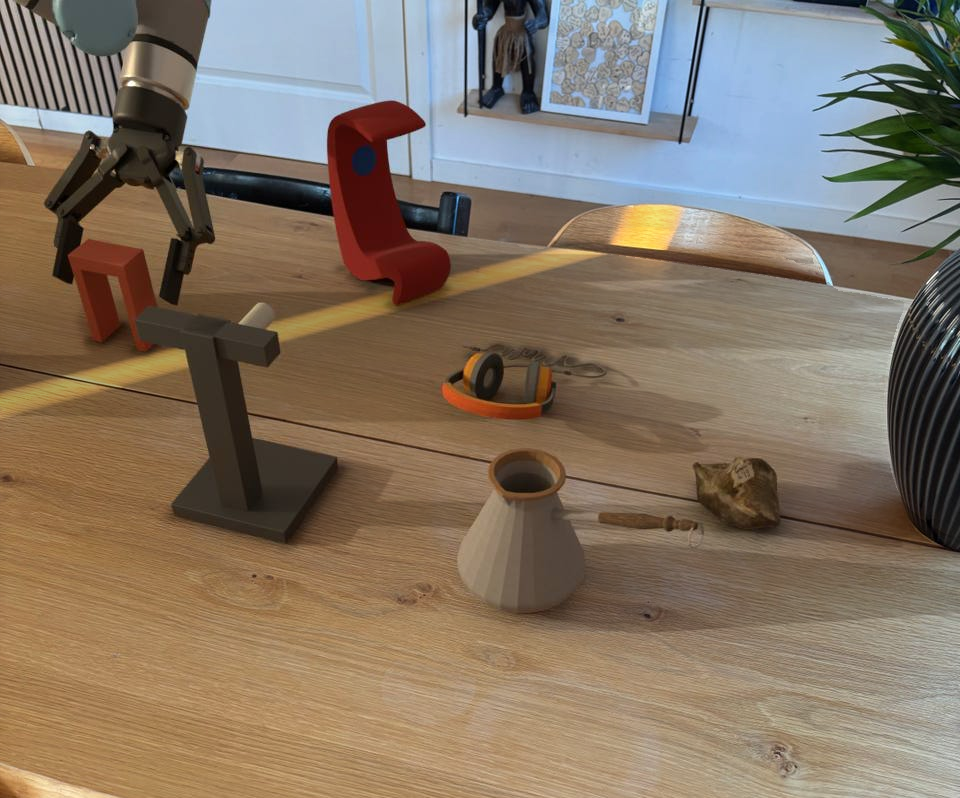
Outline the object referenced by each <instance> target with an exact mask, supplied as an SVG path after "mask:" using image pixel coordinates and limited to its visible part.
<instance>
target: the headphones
mask: <svg viewBox="0 0 960 798" xmlns="http://www.w3.org/2000/svg"><path fill="white" fill-rule="evenodd" d="M494 347H501V348H504V349H503V350H502V351H500V353H499V354H498V353H495V352H493V351H490V350H491V349H492V348H494ZM462 348H463V349H468V350H470V351H472V352H473V351H474V352H476V353H475V354H473V355H472V356H471V357H470V358H469V359H468V361H467V362H466V364H465V366H464V367H463V368H461V369H458V370H456V371H453V372H452V373H451V374H449V375H448V376H447V377H445V379H444V382H443V384H442V387H441V390H442V396H443V398H444V399H445V401H446V402H448V403H449V404H450V405H452V406H453V407H456V408H458V409H460V410H462V411H465V412H468V413H471V414H473V415H477V416H478V415H479V416H483V417H488V418H493V419H498V420H499V419H500V420H507V421H508V420H512V421H521V420H522V421H523V420H533V419H538V418H540V417H541V415H543V414H545V413H547V412H548V411H550V409H551V408H552V406H553V404H554V400H555V395H556V388H557V382H556V381H553V373H558V374H559V373H560V374H564V375H565V376H574V377H575V376H576V377H580V378H588V379H598V378H602V377H604V376H606V375H607V369H606V368H605V367H604V366H602V365H600V364H598V363H592V362H589V363H582V364H575V365H574V364H573V365H572V364H568V363H567V362H568V360H569V358H570V357H569V356H568V355H562V356H560V357H559V358H558V359H556V360H555V361H554V362H552V363H547V362H548V361H549V360H550V357H549V356H547V355H543V356H540V355H541V353H542V352H541V350H539V349H533V350H532V351H531V352H529V350H530V349H529V348H528V347H525V348H524V347H523V348H522V349H521V350H520V351H519V353H517V354H516V355H515V356H514V357H513V355H514V354H515V353H516V352H517V349H516V348H511V349H509V351H507V350H508V346H507V345H505V344H499V343H495V344H492V345H490V346H489V347H488V348H487V347H486V348H485V349H484V348H483V349H482V348H480V347H476V346H468V345H463V346H462ZM506 351H507V352H506ZM477 352H478V353H477ZM482 352H483V353H482ZM528 352H529V353H528ZM534 353H537V354H536V355H535V356H533V357H532V358H531V362H529V364H510V365H504V360H503V358H502V356H503V357H505V356H507V357H506V359H507V360H509V361H515V360H517V358H519V356H521V355H522V356H523V357H529V356H531V355H532V354H534ZM539 356H540V357H539ZM564 358H565V360H564V362H563V364H564V366H566V367H569V368H580V367H585V366H593V367H597V368H599V369H602V370H603V373H602V374H598V375H587V374H579V373H574V372H572V371H570V370H561V369H557V368H551V367H552V366H553V367H554V366H555V365H556V364H557V363H559V362H560V361H561V360H563V359H564ZM542 359H544V360H543V362H542V366H541V364H540V362H539V361H541V360H542ZM507 368H508V369H509V368H526V374H525V375H526V376H525V382H524V389H523V397H522V403H520V404H510V403H501V402H494V401H490V400H491V399H492V398H494V396H496V395H497V393H498V391H499V390H500V388H501V386H502V383H503V381H504V374H505V369H507ZM460 381H462V385H463V388H464V390H465V391H466V392H467V393H469V394H470V395H471V396H470V395H468V394H466V393H463V392H461V391H460V390H458V389H456V388H455V387H454V386H453V385H454V384H456V383H458V382H460Z"/></svg>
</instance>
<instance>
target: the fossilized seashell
mask: <svg viewBox="0 0 960 798" xmlns="http://www.w3.org/2000/svg"><path fill="white" fill-rule="evenodd" d="M692 470H693V471H694V477H695V485H696V487H695V488H696V498H697V501H698V502H699V504H700V505H701V506H702V507H704V509H706V510H709V511H711V514H713V516H714V517H715V518H716V519H717V520H718V521H720V522H722V523H723V524H725V525H727V526H728V525H729V526H731V527H734V528H739V529H746V530H755V529H761V528H768V527H769V528H770V527H775V528H776V527H778V526H780V524H781V522H782V521H781V511H780V505H779V496H778V475H777V472H776V471H775V469H774V468H772V466H771V465H770V464H769V462H767V461H766V460H764V459H763V458H760V457H747V458H744V457H741V456H736V457H734V459H733V460H732V462H728V463H727V462H717V463H700V462H698V461H695V462H693V464H692Z"/></svg>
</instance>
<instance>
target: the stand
mask: <svg viewBox="0 0 960 798" xmlns="http://www.w3.org/2000/svg"><path fill="white" fill-rule="evenodd" d="M275 315H276V314H275V311H274V308H272V307H271V306H270V305H269V304H268V303H266V302H258V303H256V304H255V305H254V306H253V307H252V308H251V309H250V311H249V312H247V314H246V315H245V316H243V318H242V319H241V320H240V321H239V322H238V323H236V322H232V321H231V320H230V319H226V318H221V317H217V316H212V315H208V314H202V313H197V314H191V313H187V312H182V311H177V310H172V309H168V308H163V307H158V306H157V307H153V306H148V307H147V308H146V309H145V310H144V311H143V312H142V313H141V314H140V315H139V316H138V317H137V318H136V319H135V324H136V328H137V332H138V336H139V339H140V341H144V342H149V343H153V344H154V345H158V346H164V347H168V348H172V349H177V350H182V351H184V353H185V357H186V362H187V365H188V366H187V367H188V371H189V375H190V378H191V383H192V387H193V391H194V397H195V399H196V400H195V401H196V405H197V408H198V413H199V416H200V423H201V427H202V430H203V431H202V432H203V435H204V440H205V444H206V449H207V452H208V459H207V460H206V461H205V463H204V464H203V465H202V466H201V467H200V469H198V471H197V472H196V473H195V475H193V477H192V478H191V479H190V480H189V481H188V483H187V484H186V485H185V486H184V488H183V489H182V490H181V491H180V493H178V495H177V496H176V497H175V499H173V501H172V502H171V504H170V506H171V510H172V513H173V516H174V517H178V518H182V519H185V520H190V521H194V522H197V523H202V524H205V525H210V526H214V527H218V528H222V529H226V530H230V531H233V532H237V533H241V534H244V535H250V536H253V537H257V538H262V539H264V540H268V541H269V540H270V541H272V542H277V543H281V544H284V545H285V544H286V545H287V544H288V542H289V541H290V539H291V538H292V536H293V535H294V533H295V532H296V531H297V529H298V528H299V526H300V525H301V523H302V522H303V520H304V519H305V518H306V516H307V515H308V513H309V512H310V510H311V509H312V508H313V506H314V504H315V503H316V502H317V500H318V499H319V498H320V496H321V494H322V492H324V490H325V488H326V487H327V486H328V484H329V483H330V481H331V480H332V478H333V477H334V476H335V474H336V473H337V472H338V470H339V463H338V461H339V460H338V456H334V455H330V454H325V453H321V452H317V451H313V450H308V449H304V448H299V447H295V446H292V445H286V444H282V443H279V442H274V441H269V440H265V439H261V438H256V437H253V435H252V434H253V433H252V428H251V425H250V418H249V414H248V408H247V403H246V397H245V392H244V386H243V382H242V381H243V380H242V377H241V371H240V366H239V365H240V364H239V363H243V364H247V365H252V366H257V367H262V368H266V369H268V368H270V366H271V365H272V364H273V363H274V362H275V360H276V359H277V358H278V356H280V354H281V347H280V346H281V345H280V339H279V333H278V332H279V331H274V330H270V329H267V328H268V327H269V326H270V325H271V324H272V323H273V322H274V320H275V318H276V317H275Z"/></svg>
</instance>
